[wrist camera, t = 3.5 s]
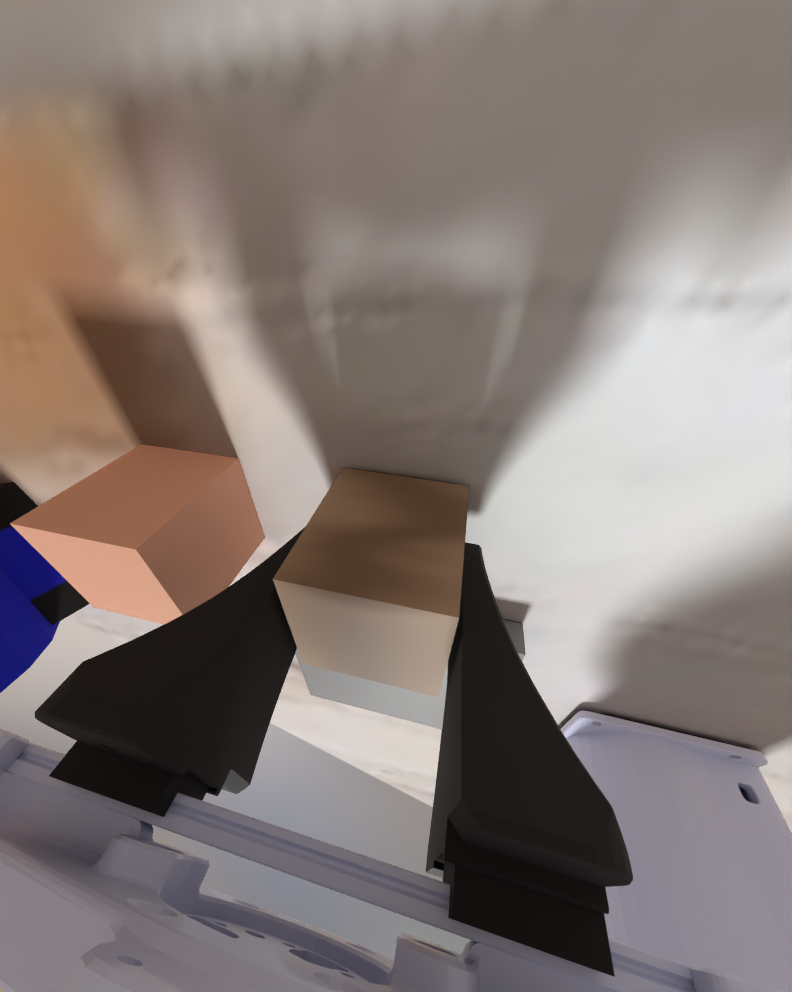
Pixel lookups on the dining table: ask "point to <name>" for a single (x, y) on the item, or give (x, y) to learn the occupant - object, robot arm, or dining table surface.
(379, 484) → the walnut block
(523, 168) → the dining table surface
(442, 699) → the base plate
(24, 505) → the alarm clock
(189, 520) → the terracotta block
